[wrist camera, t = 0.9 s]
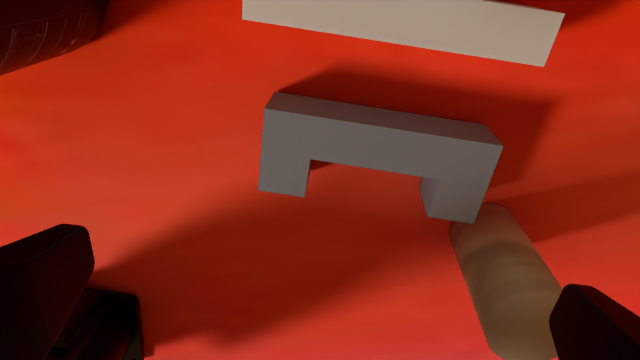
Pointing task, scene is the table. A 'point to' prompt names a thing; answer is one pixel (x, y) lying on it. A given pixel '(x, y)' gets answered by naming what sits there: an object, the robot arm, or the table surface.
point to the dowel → (507, 284)
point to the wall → (425, 24)
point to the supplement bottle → (45, 29)
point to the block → (379, 150)
